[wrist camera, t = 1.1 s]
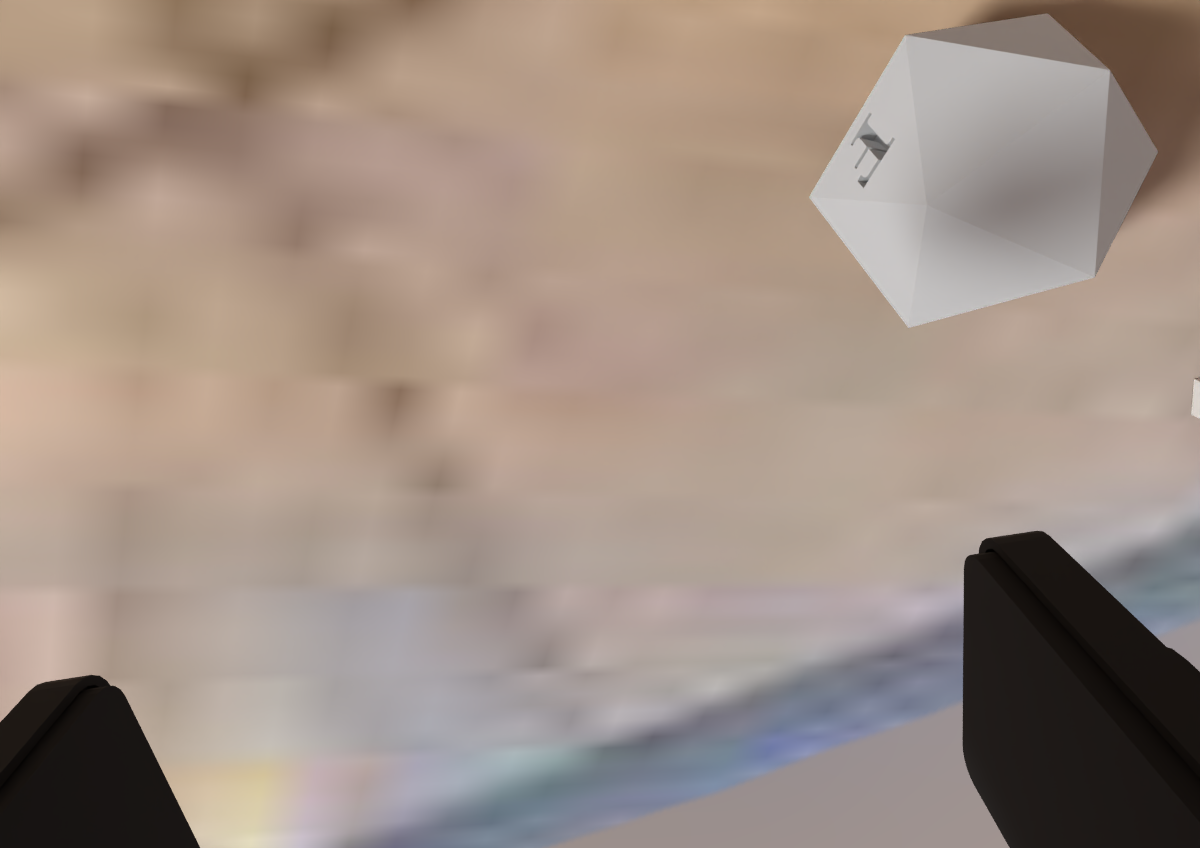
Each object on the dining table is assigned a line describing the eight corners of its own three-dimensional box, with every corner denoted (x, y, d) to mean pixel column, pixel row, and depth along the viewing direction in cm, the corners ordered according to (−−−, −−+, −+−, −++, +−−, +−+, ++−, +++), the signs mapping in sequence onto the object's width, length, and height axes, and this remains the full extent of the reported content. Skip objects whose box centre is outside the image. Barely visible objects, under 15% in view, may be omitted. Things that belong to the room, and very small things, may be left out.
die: (982, -34, 27) (879, -45, 20) (1235, 106, 25) (1221, 151, 17) (844, 188, 33) (724, 242, 25) (1040, 320, 30) (968, 421, 23)
